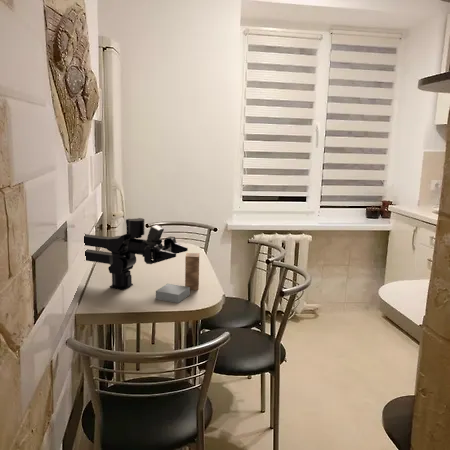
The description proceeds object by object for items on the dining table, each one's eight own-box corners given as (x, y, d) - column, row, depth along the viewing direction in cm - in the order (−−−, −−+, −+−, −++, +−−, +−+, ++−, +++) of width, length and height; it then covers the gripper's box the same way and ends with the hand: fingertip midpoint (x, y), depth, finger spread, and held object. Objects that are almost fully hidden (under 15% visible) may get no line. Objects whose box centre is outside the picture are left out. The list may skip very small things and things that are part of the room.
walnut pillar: (185, 289, 169) (185, 256, 166) (185, 285, 174) (186, 253, 171) (198, 290, 169) (198, 256, 167) (198, 285, 174) (199, 253, 171)
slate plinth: (155, 299, 159) (155, 290, 158) (167, 291, 167) (167, 283, 166) (178, 303, 155) (178, 294, 155) (189, 294, 164) (189, 286, 163)
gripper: (129, 230, 154) (169, 235, 149) (156, 221, 171) (193, 225, 166) (129, 261, 156) (169, 267, 151) (156, 249, 173) (192, 254, 168)
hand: (181, 252), depth 159 cm, fingers open, 9 cm apart
